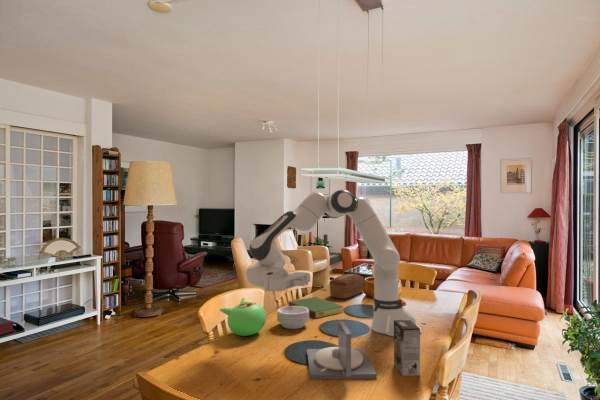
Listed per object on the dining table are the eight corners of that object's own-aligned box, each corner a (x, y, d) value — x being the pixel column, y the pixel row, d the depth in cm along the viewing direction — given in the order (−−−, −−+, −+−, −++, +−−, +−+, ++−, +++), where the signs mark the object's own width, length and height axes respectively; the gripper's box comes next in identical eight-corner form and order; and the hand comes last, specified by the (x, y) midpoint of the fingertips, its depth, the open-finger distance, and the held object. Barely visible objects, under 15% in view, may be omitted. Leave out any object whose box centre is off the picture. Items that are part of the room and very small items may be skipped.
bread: (326, 297, 231) (326, 277, 232) (348, 289, 254) (348, 271, 254) (346, 301, 223) (346, 280, 223) (367, 292, 246) (367, 273, 246)
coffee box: (393, 364, 135) (393, 319, 136) (410, 364, 136) (410, 319, 136) (402, 376, 126) (402, 328, 126) (420, 375, 127) (420, 327, 127)
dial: (312, 351, 143) (312, 312, 143) (356, 349, 145) (356, 310, 145) (322, 382, 119) (322, 334, 119) (374, 379, 120) (374, 332, 120)
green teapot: (247, 344, 155) (247, 308, 155) (217, 336, 164) (217, 302, 164) (273, 331, 170) (273, 299, 170) (244, 325, 179) (244, 294, 179)
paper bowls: (288, 319, 188) (288, 303, 188) (314, 324, 181) (314, 307, 181) (270, 328, 175) (270, 311, 175) (298, 333, 167) (298, 316, 168)
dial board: (363, 352, 147) (363, 347, 147) (376, 378, 125) (376, 373, 125) (307, 352, 146) (307, 348, 146) (310, 379, 124) (310, 374, 124)
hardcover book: (288, 308, 210) (288, 301, 210) (315, 303, 220) (315, 296, 220) (315, 319, 189) (315, 312, 189) (343, 313, 200) (343, 306, 200)
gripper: (294, 281, 161) (321, 286, 153) (262, 292, 145) (290, 297, 137) (294, 267, 161) (321, 270, 153) (261, 275, 145) (289, 280, 137)
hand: (306, 283), depth 145 cm, fingers closed
